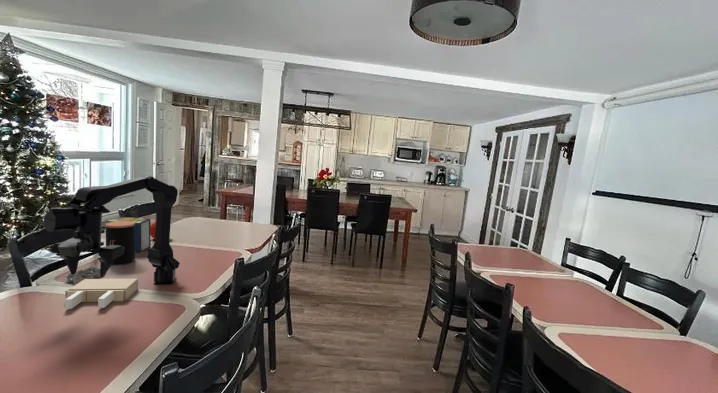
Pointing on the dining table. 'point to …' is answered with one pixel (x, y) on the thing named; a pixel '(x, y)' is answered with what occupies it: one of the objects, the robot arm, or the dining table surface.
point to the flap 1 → (74, 298)
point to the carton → (105, 287)
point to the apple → (153, 229)
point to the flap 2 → (111, 297)
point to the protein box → (139, 231)
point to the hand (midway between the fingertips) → (87, 275)
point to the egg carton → (83, 275)
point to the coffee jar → (122, 240)
